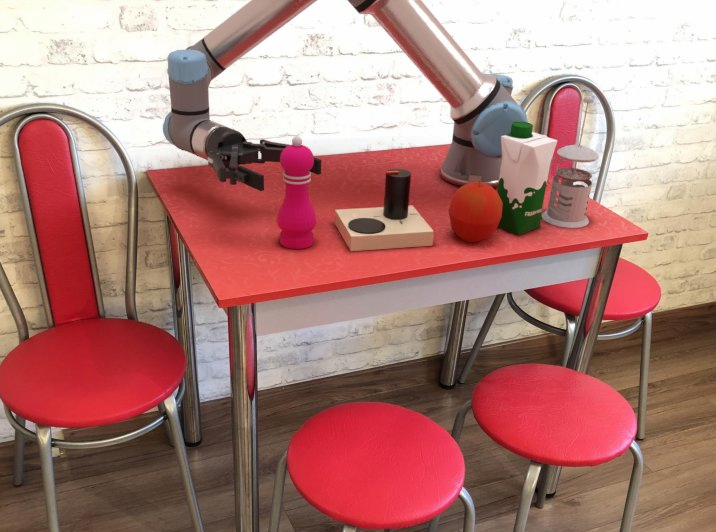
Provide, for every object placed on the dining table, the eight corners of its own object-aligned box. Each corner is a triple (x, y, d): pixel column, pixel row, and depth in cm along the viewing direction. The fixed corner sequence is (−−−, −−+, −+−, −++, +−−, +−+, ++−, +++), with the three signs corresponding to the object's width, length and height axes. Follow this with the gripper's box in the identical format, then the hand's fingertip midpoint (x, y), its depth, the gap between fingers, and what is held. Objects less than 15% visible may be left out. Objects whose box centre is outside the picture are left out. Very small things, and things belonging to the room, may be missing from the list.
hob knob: (403, 209, 157) (406, 166, 152) (410, 219, 153) (414, 175, 148) (380, 210, 156) (382, 167, 151) (387, 220, 152) (390, 176, 147)
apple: (501, 249, 150) (510, 191, 144) (448, 247, 150) (455, 188, 144) (494, 228, 159) (502, 172, 153) (444, 225, 159) (450, 170, 153)
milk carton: (512, 214, 166) (527, 117, 155) (546, 228, 160) (565, 129, 149) (484, 223, 161) (497, 125, 150) (519, 238, 155) (536, 137, 144)
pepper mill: (310, 252, 145) (312, 144, 135) (272, 247, 146) (271, 140, 136) (320, 237, 151) (322, 132, 141) (283, 232, 152) (282, 128, 142)
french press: (559, 230, 159) (584, 104, 146) (527, 209, 168) (547, 88, 155) (599, 224, 163) (626, 100, 150) (565, 204, 172) (588, 85, 159)
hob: (411, 219, 161) (412, 204, 159) (432, 245, 150) (434, 230, 149) (334, 223, 157) (335, 208, 155) (350, 251, 147) (351, 235, 145)
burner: (379, 218, 153) (379, 216, 153) (389, 232, 147) (389, 231, 147) (344, 220, 151) (344, 218, 151) (353, 235, 146) (353, 233, 145)
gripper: (270, 151, 165) (341, 180, 153) (167, 177, 150) (237, 211, 138) (269, 115, 161) (342, 141, 149) (164, 138, 146) (235, 169, 134)
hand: (291, 175), depth 143 cm, fingers open, 13 cm apart
